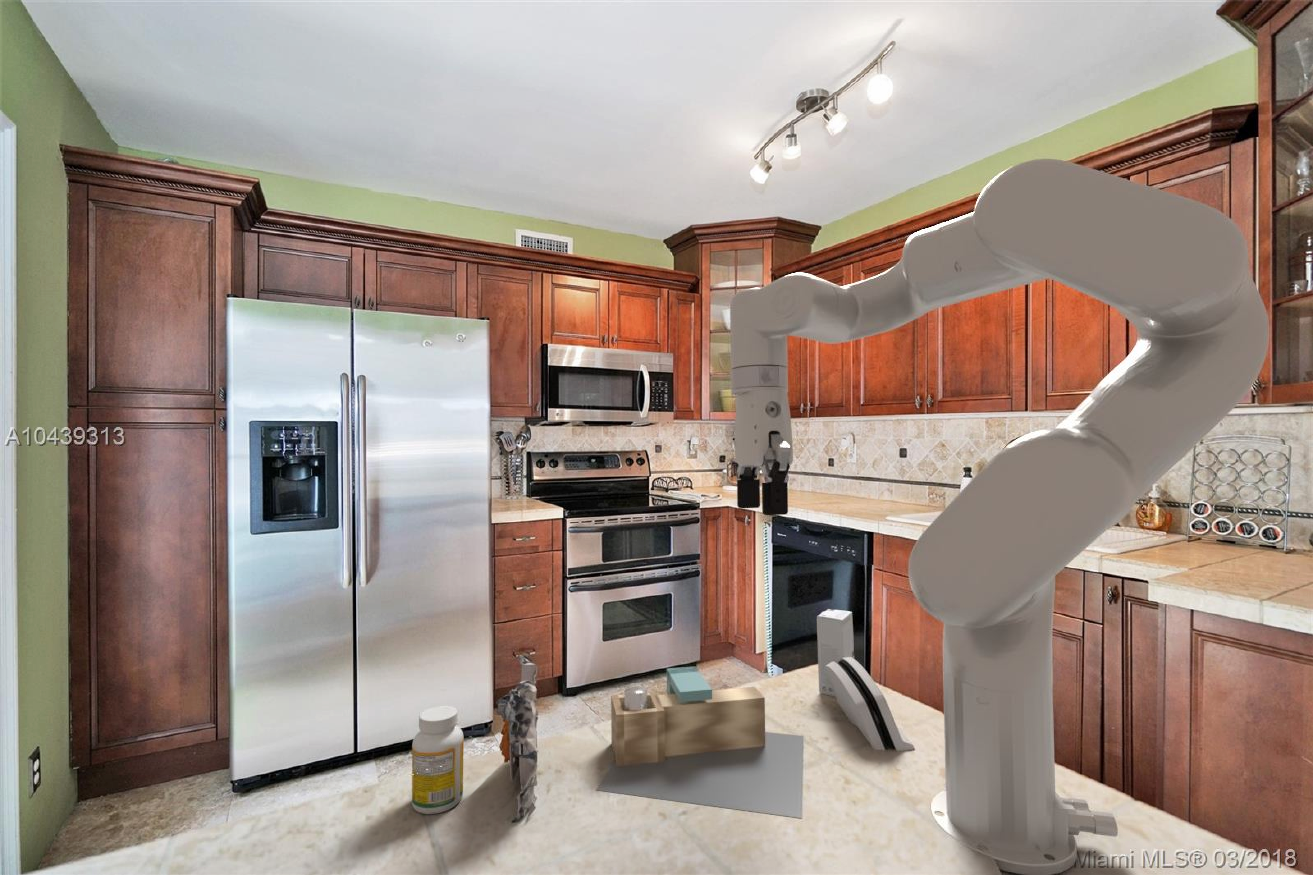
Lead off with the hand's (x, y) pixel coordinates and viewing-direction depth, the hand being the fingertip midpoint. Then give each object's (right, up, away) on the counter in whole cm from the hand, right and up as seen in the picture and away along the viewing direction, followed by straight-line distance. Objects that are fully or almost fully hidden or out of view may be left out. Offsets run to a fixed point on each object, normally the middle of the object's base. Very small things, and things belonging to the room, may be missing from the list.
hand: (761, 511), depth 79 cm
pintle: (-16, -29, -6) cm, 34 cm away
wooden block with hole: (-10, -29, -5) cm, 31 cm away
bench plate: (-8, -30, -8) cm, 32 cm away
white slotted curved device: (+15, -31, +2) cm, 34 cm away
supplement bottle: (-38, -31, -14) cm, 51 cm away
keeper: (-10, -29, -3) cm, 31 cm away
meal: (-29, -31, -12) cm, 44 cm away
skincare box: (+15, -31, +16) cm, 38 cm away
